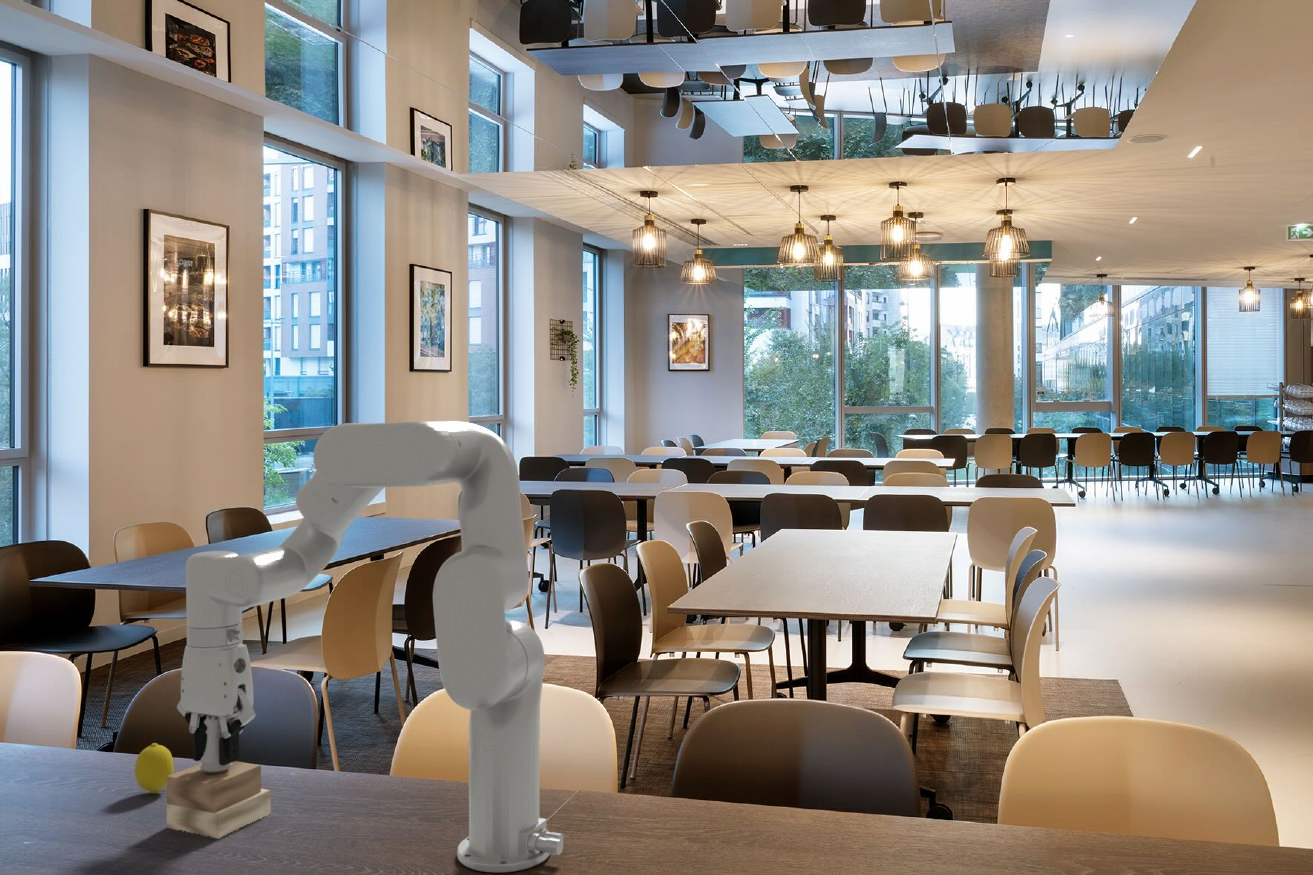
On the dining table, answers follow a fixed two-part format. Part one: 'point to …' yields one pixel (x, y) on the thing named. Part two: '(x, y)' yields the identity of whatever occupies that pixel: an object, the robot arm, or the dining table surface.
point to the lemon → (154, 767)
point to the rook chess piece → (212, 747)
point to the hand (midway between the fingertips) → (216, 759)
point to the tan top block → (213, 786)
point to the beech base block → (220, 816)
